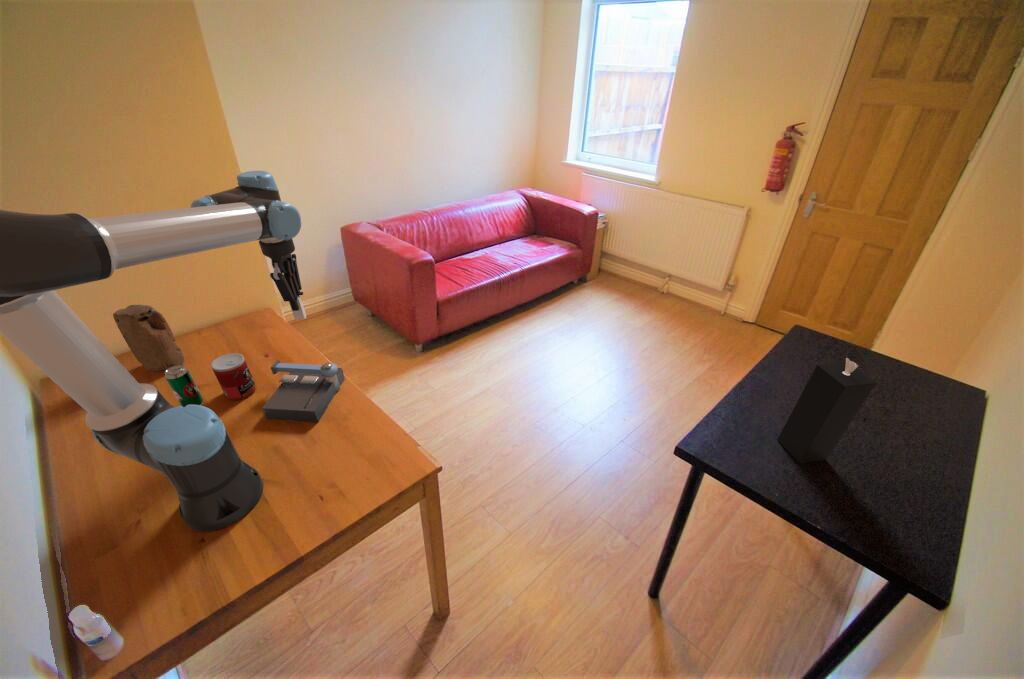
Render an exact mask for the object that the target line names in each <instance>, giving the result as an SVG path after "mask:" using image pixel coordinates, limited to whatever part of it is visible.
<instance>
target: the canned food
mask: <svg viewBox="0 0 1024 679" xmlns="http://www.w3.org/2000/svg"><path fill="white" fill-rule="evenodd" d="M210 366H211V368H212V369H211V370H212V371H213V373H214V376H215V378H216V380H217V381H218V384H219V386H220V387H221V390H222V391H223V394H224V396H225V397H226V398H228V399H229V400H232V401H239V400H243V399H247V398H248V397H250V396H252V395H253V394H254V393H255V391H256V389H257V386H256V382H255V380H254V378H253V375H252V373H251V371H250V368H249V366H248V363H247V361H246V359H245V357H244V355H243V354H241V353H236V352H233V353H225V354H223V355H221V356H218V357H217V358H215V359H213V361H212V362H211V364H210Z"/></svg>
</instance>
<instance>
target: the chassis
mask: <svg viewBox="0 0 1024 679" xmlns="http://www.w3.org/2000/svg"><path fill="white" fill-rule="evenodd" d="M331 363H332V362H326V363H324V364H323V365H324V368H325V369H329V368H331V367H332V365H331ZM337 369H338V372H337V374H336V375H334V376H332V377H323V376H322V375H321V374H309V373H290V372H288V374H283V375H282V377H281V378H280V379H279V380H278V382H279V383H280V384H279V386H278V387H277V388H276V390H275V391H274V392H273V394H271V396H270V397H269V399H268V400H267V401H266V402H265V403H264V405H263V407H262V408H261V409H262V412H263V414H264V417H265V418H266V420H270V421H271V420H273V421H289V422H292V421H293V422H306V423H319V422H320V420H321V418H322V417H323V415H324V413H325V412H326V411H327V409H328V407H329V406H328V405H330V404H331V402H332V401H333V399H334V397H335V396H336V394H337V393H338V392H340V390H341V386H342V384H343V382H344V381H345V379H346V378H345V375H344V374H345V373H344V371H343V368H341V367H337ZM334 395H335V396H334ZM331 400H332V401H331ZM329 403H330V404H329Z"/></svg>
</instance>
